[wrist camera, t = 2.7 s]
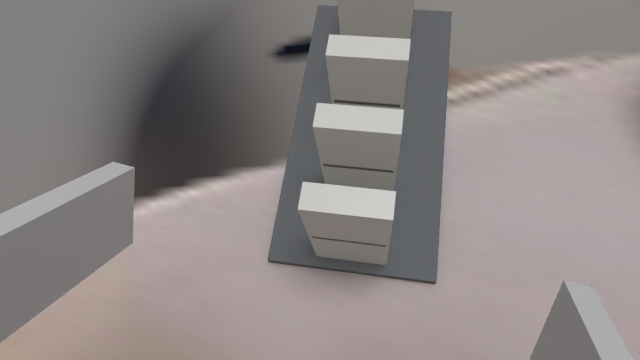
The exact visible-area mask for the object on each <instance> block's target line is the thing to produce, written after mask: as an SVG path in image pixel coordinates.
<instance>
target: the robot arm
mask: <svg viewBox="0 0 640 360" xmlns="http://www.w3.org/2000/svg"><path fill="white" fill-rule="evenodd" d="M134 170H135V168H134V167H130V166H126V165H122V164H119V163H115V162H112V163H110V164H108V165H105V166H103V167H102V168H99V169H97V170H95V171H92V172H90V173H88V174H86V175H84V176H82V177H79V178H77V179H75V180H73V181H71V182H69V183H66V184H64V185H62V186H60V187H58V188H56V189H53V190H52V191H49V192H47V193H45V194H43V195H40V196H38V197H36V198H34V199H32V200H30V201H27V202H25V203H23V204H21V205H19V206H17V207H15V208H12V209H10V210H8V211H6V212H4V213H1V214H0V343H1V342H2V341H3V340H5V339H6V338H7V337H9V336H10V335H11V334H12V333H14V332H15V331H16V330H18V329H19V328H20V327H22V326H23V325H24V324H26V323H27V322H28V321H30V320H31V319H32V318H34V317H35V316H36V315H38V314H39V313H40V312H42V311H43V310H44V309H46V308H47V307H48V306H50V305H51V304H52V303H53V302H55V301H56V300H57V299H59V298H60V297H61V296H63V295H64V294H65V293H67V292H68V291H69V290H71V289H72V288H73V287H75V286H76V285H77V284H79V283H80V282H81V281H83V280H84V279H85V278H87V277H88V276H89V275H91V274H92V273H93V272H95V271H96V270H97V269H98V268H100V267H101V266H102V265H104V264H105V263H106V262H108V261H109V260H110V259H112V258H113V257H114V256H116V255H117V254H118V253H120V252H121V251H122V250H124V249H125V248H126V247H128V246H129V245H130V244H132V243H133V212H134V172H135V171H134ZM530 359H531V360H634V359H633V358H632V356H631V354H630V352H629V351H628V349H627V347H626V345H625V343H624V342H623V340H622V338H621V336H620V335H619V333H618V331H617V329H616V328H615V326H614V324H613V322H612V321H611V319H610V317H609V315H608V313H607V312H606V310H605V308H604V306H603V305H602V303H601V301H600V299H599V298H598V296H597V294H596V292H595V291H594V289H593V288H592V287H588V286H584V285H580V284H577V283H573V282H569V281H565V280H564V281H563V283H562V285H561V288H560V290H559V292H558V295H557V297H556V299H555V301H554V304H553V306H552V308H551V311H550V313H549V315H548V318H547V320H546V322H545V325H544V327H543V329H542V332H541V334H540V336H539V339H538V341H537V343H536V345H535V348H534V350H533V352H532V355H531V357H530Z"/></svg>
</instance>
